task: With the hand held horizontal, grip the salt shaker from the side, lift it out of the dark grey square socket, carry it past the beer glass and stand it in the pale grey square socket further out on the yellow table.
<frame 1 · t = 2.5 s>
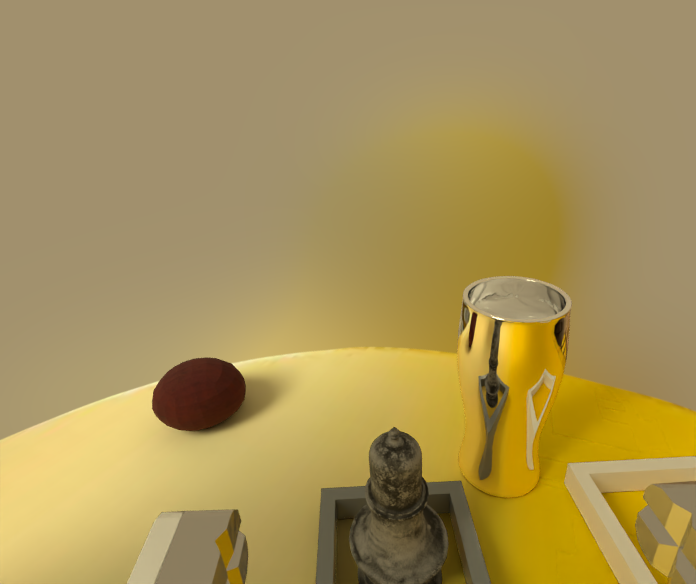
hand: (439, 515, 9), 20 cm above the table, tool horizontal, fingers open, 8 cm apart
pale socket: (678, 543, 28), on the table
dark socket: (399, 572, 27), on the table
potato: (207, 417, 42), on the table
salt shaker: (399, 575, 27), resting in dark socket
beer glass: (497, 467, 34), on the table
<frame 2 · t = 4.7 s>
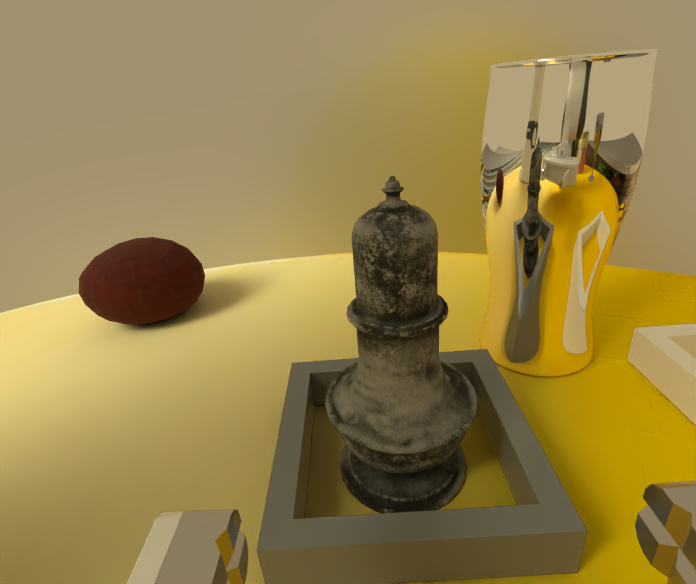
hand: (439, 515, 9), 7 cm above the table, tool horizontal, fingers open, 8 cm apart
dark socket: (402, 460, 18), on the table
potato: (157, 316, 34), on the table
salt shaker: (402, 464, 19), resting in dark socket
beer glass: (532, 349, 26), on the table
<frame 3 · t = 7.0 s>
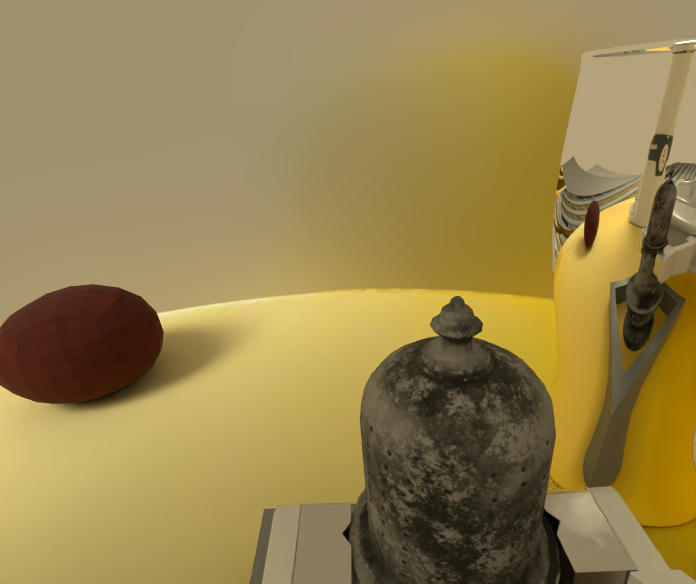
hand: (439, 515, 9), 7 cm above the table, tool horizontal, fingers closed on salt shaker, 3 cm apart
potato: (101, 385, 26), on the table
beer glass: (614, 464, 18), on the table
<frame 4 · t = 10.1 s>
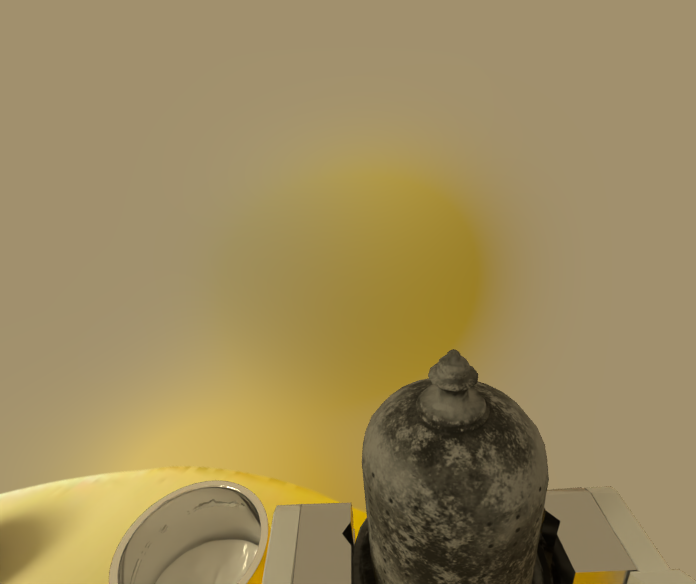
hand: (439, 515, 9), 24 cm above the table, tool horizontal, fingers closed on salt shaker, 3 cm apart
when the fingers open (8 cm above the table, at t = 13.6 s): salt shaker stays where it is, resting in pale socket.
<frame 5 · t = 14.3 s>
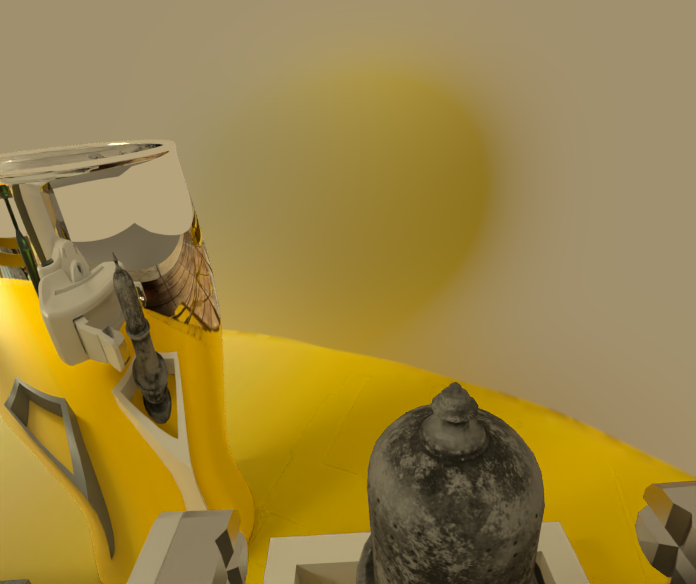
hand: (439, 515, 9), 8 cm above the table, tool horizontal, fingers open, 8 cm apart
beer glass: (182, 535, 18), on the table
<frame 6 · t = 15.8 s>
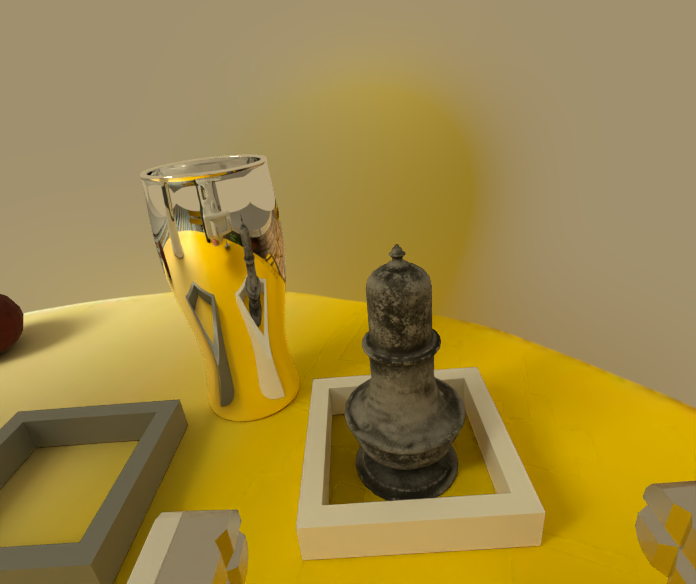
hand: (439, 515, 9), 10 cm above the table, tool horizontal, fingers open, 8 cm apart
pale socket: (405, 460, 23), on the table
dark socket: (61, 499, 22), on the table
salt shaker: (406, 463, 23), resting in pale socket
beer glass: (256, 393, 29), on the table
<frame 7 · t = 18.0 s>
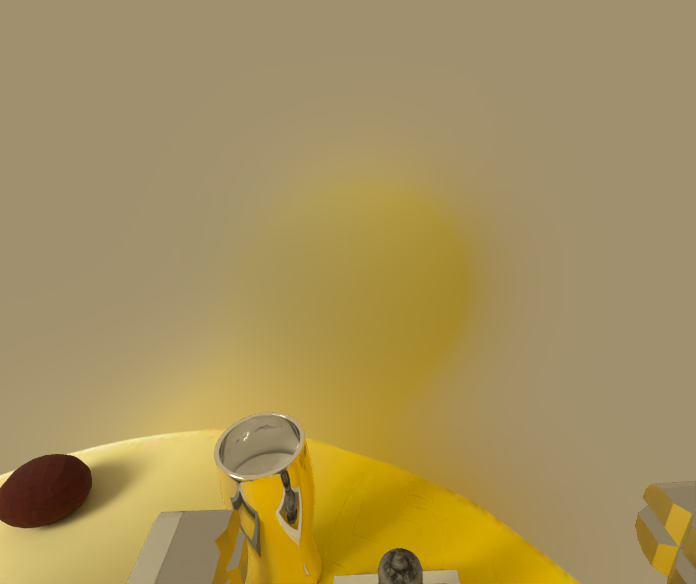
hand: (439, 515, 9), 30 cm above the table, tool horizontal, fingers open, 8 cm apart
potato: (57, 508, 46), on the table
beer glass: (287, 571, 38), on the table
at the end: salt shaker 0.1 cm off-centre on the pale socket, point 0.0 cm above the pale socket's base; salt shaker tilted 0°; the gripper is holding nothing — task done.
